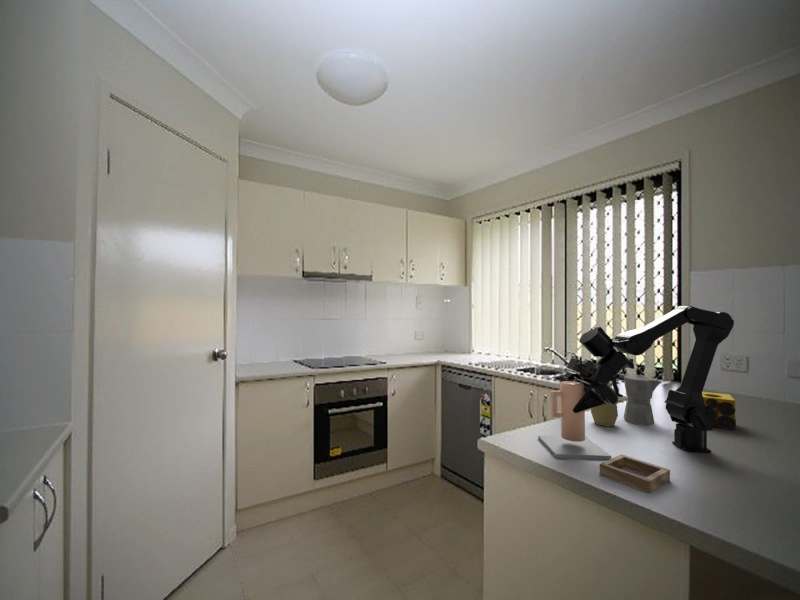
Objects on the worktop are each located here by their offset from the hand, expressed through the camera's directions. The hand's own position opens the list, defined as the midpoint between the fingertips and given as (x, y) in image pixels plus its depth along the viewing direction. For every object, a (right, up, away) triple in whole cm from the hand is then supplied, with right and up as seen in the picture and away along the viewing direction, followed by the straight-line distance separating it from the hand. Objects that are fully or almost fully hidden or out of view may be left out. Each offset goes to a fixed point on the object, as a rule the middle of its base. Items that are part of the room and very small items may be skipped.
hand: (568, 408), depth 103 cm
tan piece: (0, -8, 0) cm, 8 cm away
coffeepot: (+35, -12, +26) cm, 46 cm away
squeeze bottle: (+22, -12, +22) cm, 33 cm away
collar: (+7, -11, -17) cm, 22 cm away
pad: (+1, -11, 0) cm, 11 cm away
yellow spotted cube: (+60, -12, +23) cm, 66 cm away
